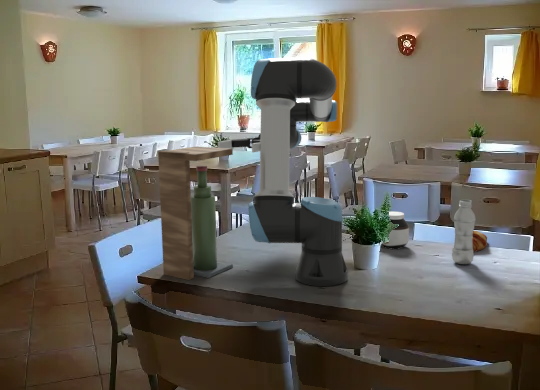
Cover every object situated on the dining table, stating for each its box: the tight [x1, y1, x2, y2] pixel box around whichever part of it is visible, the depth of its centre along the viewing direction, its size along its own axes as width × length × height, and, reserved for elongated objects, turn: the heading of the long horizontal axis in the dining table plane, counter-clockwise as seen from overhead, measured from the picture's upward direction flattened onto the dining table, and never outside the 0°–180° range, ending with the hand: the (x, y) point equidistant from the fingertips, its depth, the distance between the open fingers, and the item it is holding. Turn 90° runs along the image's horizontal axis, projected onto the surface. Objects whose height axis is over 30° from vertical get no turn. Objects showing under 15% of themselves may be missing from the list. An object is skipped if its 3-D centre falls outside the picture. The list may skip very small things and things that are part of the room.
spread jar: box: [380, 211, 410, 250], centre depth 204 cm, size 12×11×12 cm
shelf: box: [157, 146, 234, 281], centre depth 177 cm, size 17×14×37 cm
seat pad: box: [193, 262, 234, 279], centre depth 182 cm, size 12×13×1 cm
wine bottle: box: [191, 165, 218, 271], centre depth 179 cm, size 7×7×31 cm
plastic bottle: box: [451, 199, 476, 265], centre depth 183 cm, size 6×7×20 cm
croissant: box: [472, 230, 488, 253], centre depth 202 cm, size 21×10×8 cm, turn 137°
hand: (235, 146), depth 190 cm, fingers open, 13 cm apart
